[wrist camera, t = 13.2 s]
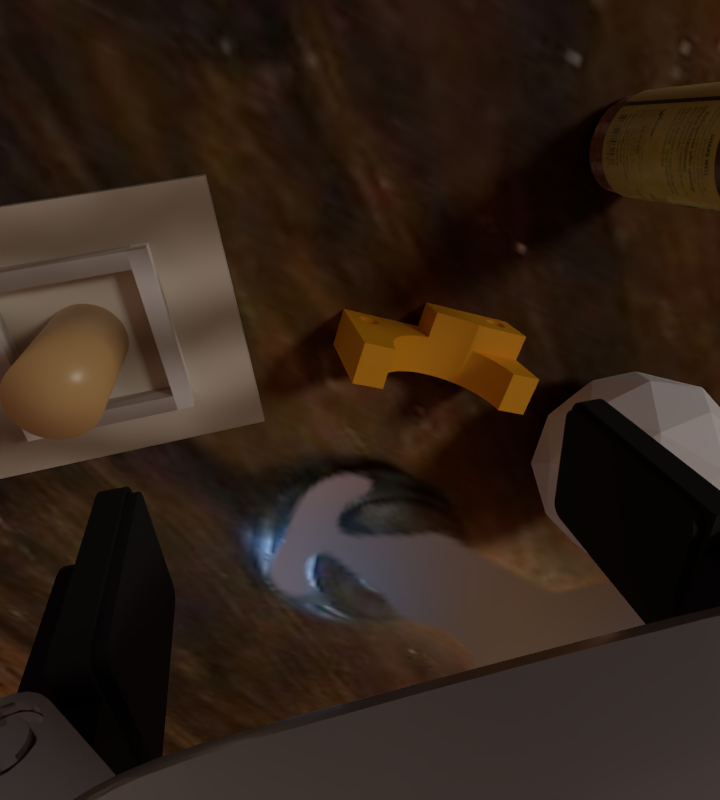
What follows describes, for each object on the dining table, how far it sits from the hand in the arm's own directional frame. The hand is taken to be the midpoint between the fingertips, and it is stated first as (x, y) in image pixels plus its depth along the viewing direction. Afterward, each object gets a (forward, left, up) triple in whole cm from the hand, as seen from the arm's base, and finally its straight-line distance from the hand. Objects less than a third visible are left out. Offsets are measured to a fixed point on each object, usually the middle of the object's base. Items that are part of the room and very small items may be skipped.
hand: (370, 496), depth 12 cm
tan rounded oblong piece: (+3, -12, -25) cm, 27 cm away
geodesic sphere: (+18, +23, -26) cm, 39 cm away
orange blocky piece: (+7, +9, -26) cm, 28 cm away
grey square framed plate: (+3, -12, -26) cm, 28 cm away
